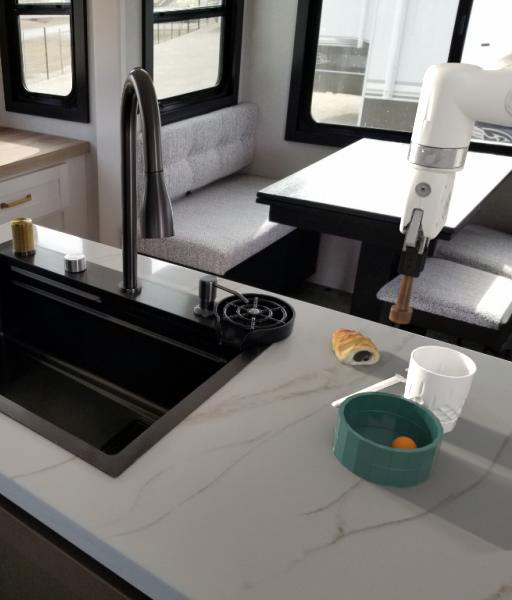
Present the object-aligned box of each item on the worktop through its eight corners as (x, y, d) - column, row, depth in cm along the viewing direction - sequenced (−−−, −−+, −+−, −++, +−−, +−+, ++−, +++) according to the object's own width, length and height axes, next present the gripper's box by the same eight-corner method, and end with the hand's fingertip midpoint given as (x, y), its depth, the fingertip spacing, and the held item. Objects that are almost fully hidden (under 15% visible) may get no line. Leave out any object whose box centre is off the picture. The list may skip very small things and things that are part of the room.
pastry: (321, 339, 110) (325, 319, 108) (360, 338, 110) (364, 318, 108) (341, 369, 101) (345, 348, 100) (383, 367, 101) (388, 347, 100)
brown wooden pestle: (404, 314, 105) (422, 234, 99) (413, 323, 102) (432, 242, 96) (385, 315, 105) (402, 235, 99) (393, 324, 102) (411, 242, 96)
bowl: (398, 423, 89) (407, 387, 86) (453, 484, 78) (465, 445, 75) (316, 432, 87) (322, 396, 85) (361, 496, 77) (369, 457, 74)
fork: (324, 403, 93) (325, 392, 92) (417, 366, 102) (419, 356, 101) (340, 414, 91) (342, 404, 90) (435, 376, 99) (437, 366, 98)
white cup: (461, 414, 90) (478, 354, 86) (455, 446, 84) (474, 383, 80) (401, 398, 94) (415, 340, 89) (392, 427, 88) (407, 366, 83)
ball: (398, 441, 79) (416, 461, 79) (408, 428, 81) (426, 447, 80) (382, 449, 82) (399, 468, 81) (392, 436, 83) (409, 455, 83)
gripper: (454, 171, 84) (423, 297, 92) (475, 148, 95) (446, 261, 103) (394, 163, 88) (370, 284, 96) (421, 141, 99) (398, 251, 107)
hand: (410, 271), depth 100 cm, fingers closed on brown wooden pestle
